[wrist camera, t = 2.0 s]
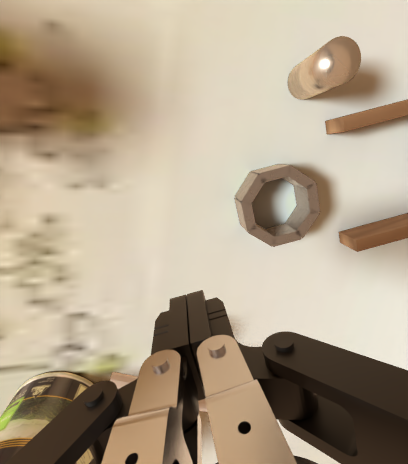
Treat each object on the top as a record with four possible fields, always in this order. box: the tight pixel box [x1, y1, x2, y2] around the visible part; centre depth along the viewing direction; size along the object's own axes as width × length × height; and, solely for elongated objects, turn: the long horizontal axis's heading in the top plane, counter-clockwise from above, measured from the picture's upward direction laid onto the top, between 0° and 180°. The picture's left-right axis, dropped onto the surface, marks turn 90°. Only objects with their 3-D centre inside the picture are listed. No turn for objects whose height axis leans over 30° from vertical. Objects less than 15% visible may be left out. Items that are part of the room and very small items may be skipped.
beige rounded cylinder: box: [288, 36, 361, 100], centre depth 23 cm, size 3×3×6 cm
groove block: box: [325, 99, 408, 252], centre depth 27 cm, size 12×10×3 cm
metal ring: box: [234, 164, 320, 247], centre depth 27 cm, size 7×7×3 cm
